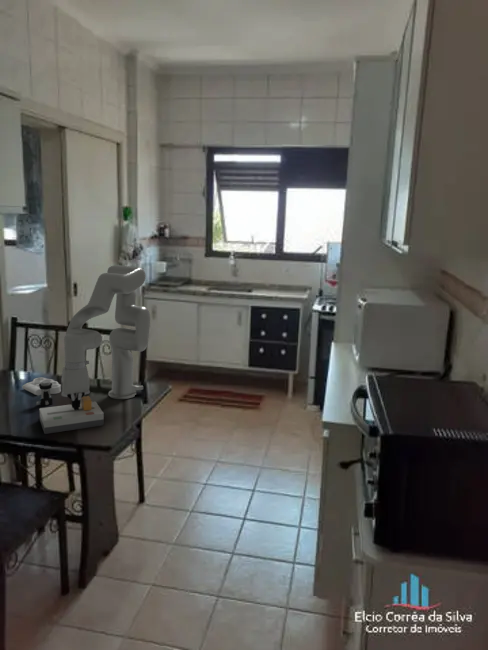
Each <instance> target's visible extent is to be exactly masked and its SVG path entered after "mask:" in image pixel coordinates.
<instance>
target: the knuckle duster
mask: <svg viewBox="0 0 488 650" xmlns="http://www.w3.org/2000/svg"><path fill="white" fill-rule="evenodd" d="M42 381H50V383H52V386H51V387H52V388H50V395H56V394H59V393H62V388H61V384H60V383H59V382H58V381H55V379H51V378H46V377H36V378H33V380H32V381H30V382H27V383H25V384H23V385H22V386H21V387H22V389H23V390H25V391H27V392H29V393H31V394H33V395H35V396H41V389H40V386H39V384H40V383H41V382H42ZM43 391H44V390H43Z"/></svg>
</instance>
